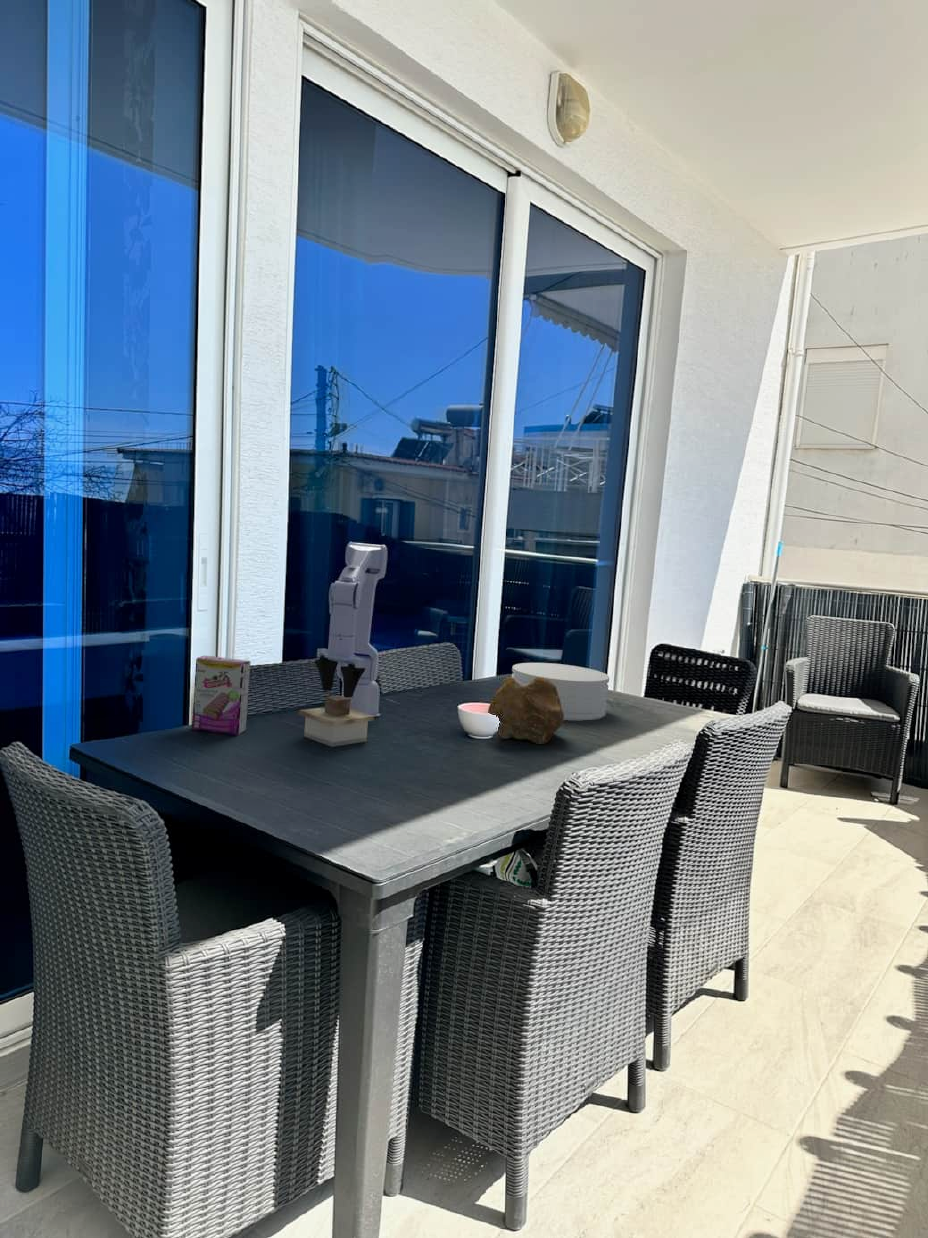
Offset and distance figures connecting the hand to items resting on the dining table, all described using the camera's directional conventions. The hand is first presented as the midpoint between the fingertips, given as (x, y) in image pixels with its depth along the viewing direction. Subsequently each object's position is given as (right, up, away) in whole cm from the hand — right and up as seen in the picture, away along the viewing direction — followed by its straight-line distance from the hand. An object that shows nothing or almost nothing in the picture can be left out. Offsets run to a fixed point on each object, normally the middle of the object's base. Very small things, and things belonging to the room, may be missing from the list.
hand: (337, 693), depth 200 cm
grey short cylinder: (+56, -10, +56) cm, 79 cm away
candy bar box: (-27, -8, -1) cm, 28 cm away
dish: (-1, -10, +1) cm, 10 cm away
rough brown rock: (+45, -13, +18) cm, 50 cm away
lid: (0, -5, 0) cm, 5 cm away
